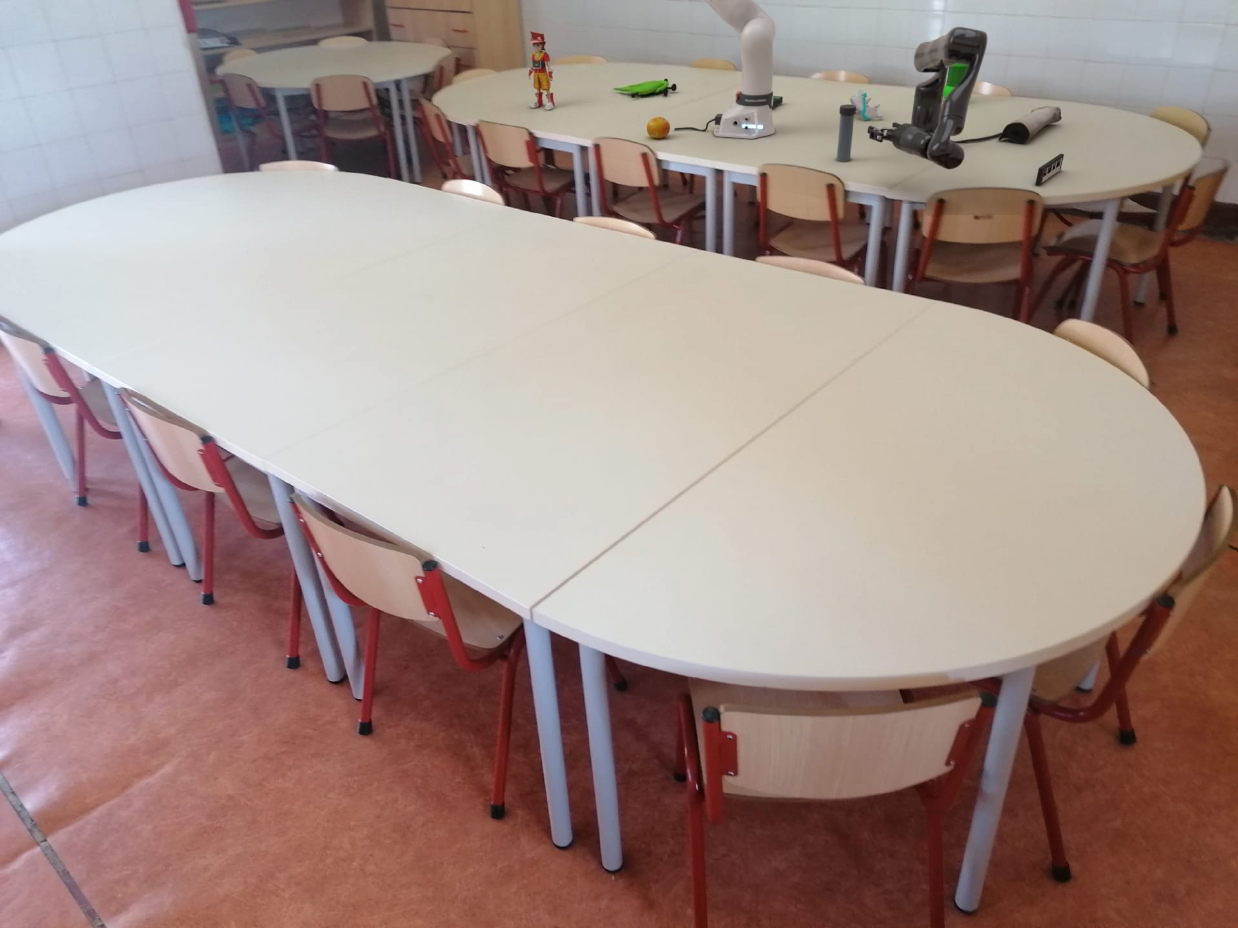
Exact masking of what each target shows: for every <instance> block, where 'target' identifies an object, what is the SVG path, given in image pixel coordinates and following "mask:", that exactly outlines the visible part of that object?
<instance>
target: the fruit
mask: <svg viewBox="0 0 1238 928" xmlns="http://www.w3.org/2000/svg"><path fill="white" fill-rule="evenodd" d="M670 125H671V124H670V122H669V121H668V120H667V119H666V118H665V117H662V116H656V117H653V118H651V119H650V120H649V121H648V122H647V124H646V132H647V134H648V136H649V137H651V138H653V139H663V138H665V137H667V136H668V135H669V133H670V131H671V126H670Z"/></svg>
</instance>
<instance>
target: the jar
mask: <svg viewBox="0 0 1238 928" xmlns="http://www.w3.org/2000/svg"><path fill="white" fill-rule="evenodd" d="M839 116H840V117H839V125H838V126H839V127H838V137H837V138H838V139H837V151H836V161H837V162H841V163H843V162H844V163H845V162H846V163H847V162H849V161H851V155H852V154H851V153H852V146H853V145H852V143H853V135H854V134H853V133H854V132H853V131H854V123H855V122H854V121H855V114H854V115H841V114H840V113H839Z"/></svg>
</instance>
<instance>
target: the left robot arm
mask: <svg viewBox="0 0 1238 928" xmlns="http://www.w3.org/2000/svg"><path fill="white" fill-rule="evenodd" d="M705 2H706V3H707V4H708V5H709V7H711V9H712V10H713V11H714V12H715V13H716V14H717V15H718V16H719V17H720V18H721V19H722V21H723V22H724V23H726V24H727V25H729V26H730V27H731V28H732V29H733V30H735V31H736V32H737V33H738V34H739V35H740V58H741V62H740V63H741V90H737V91H736V92H735V103H734V104H733V105H732V106H730V107H729V108H727V110H726V111H724V113H716V115H715V116H714V118H712V119H710V120H708V121H707V122H706V124H705V128H704V129H700V128H696V127H692V126H685V127H674V131H682V130H694V131H697V132H706V131H707V130H708V128H709V125H710V124H711V123H712V122H714V126H715V128H714V130H713V135H714V136H715V137H721V138H722V137H723V138H736V139H737V138H738V139H750V140H753V139H754V140H755V139H758V138H761V137H766V136H770V135H773V134H774V133H775V132H776V131H775V127H774V120H773V108H772V106H773V96H774V91H773V77H774V76H773V75H774V67H773V66H774V64H773V63H774V61H773V45H774V44H773V43H774V39H775V37H776V35H777V34H776V33H777V27H776V23H775V21H774V19H773V17H771V16H770V15H769V14H768V13H767V12H766V11H765V10H764V9H763V8H762V7H761V6H759V4H758V3H756V2H755V1H754V0H705Z"/></svg>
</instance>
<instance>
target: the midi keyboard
mask: <svg viewBox="0 0 1238 928" xmlns="http://www.w3.org/2000/svg"><path fill="white" fill-rule="evenodd" d="M1064 157H1065V153H1059V154H1058V155H1056V156H1055V157H1052V159H1051V160H1049V161H1047V162H1045V164H1042V165H1041V166H1039V167H1038V169H1037V175H1036V179H1035V186H1040V185H1042V183H1044V182H1045V181H1047V180H1048V179H1049V178H1051V177H1052V176H1054V175H1055V174H1056V173H1058V172H1060V171H1061V170H1062V165H1063V161H1064Z"/></svg>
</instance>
